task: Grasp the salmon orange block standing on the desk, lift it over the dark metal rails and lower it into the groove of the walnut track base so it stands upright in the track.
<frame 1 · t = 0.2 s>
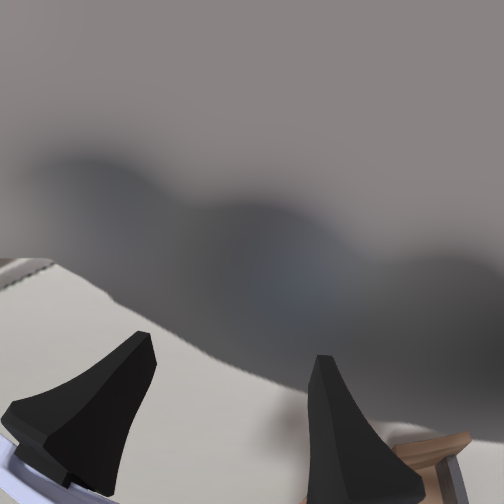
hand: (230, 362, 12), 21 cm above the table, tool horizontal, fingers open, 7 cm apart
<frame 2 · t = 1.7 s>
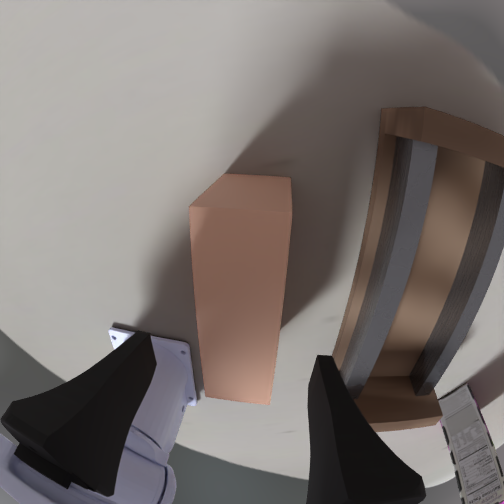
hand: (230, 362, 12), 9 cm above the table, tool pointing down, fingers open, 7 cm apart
track base: (417, 278, 19), on the table
salmon orange block: (253, 262, 20), on the table
candy bar box: (458, 405, 26), on the table
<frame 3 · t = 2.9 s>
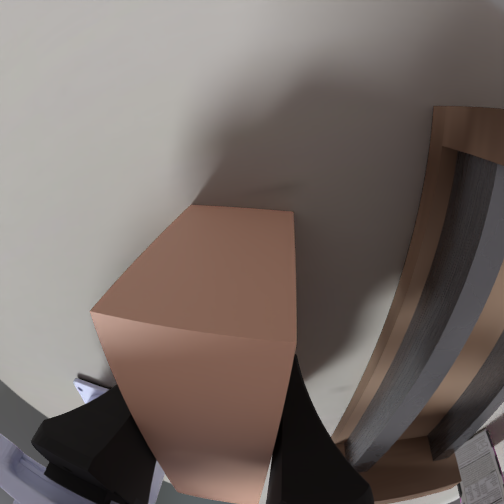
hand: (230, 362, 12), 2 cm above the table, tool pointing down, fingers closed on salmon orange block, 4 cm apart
track base: (454, 339, 13), on the table
salmon orange block: (238, 328, 14), on the table, touching gripper
candy bar box: (472, 446, 20), on the table
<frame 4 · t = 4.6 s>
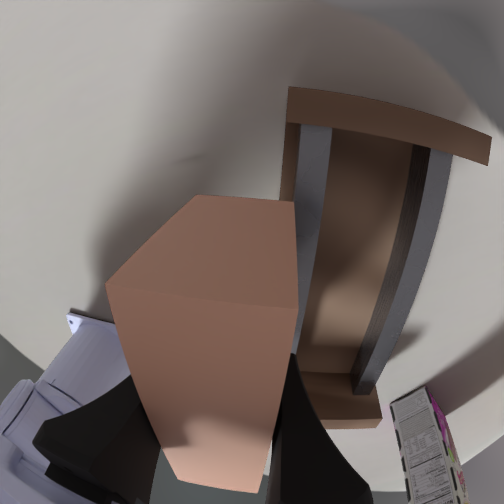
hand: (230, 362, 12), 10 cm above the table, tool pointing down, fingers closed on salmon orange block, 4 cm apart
track base: (343, 270, 20), on the table
salmon orange block: (239, 316, 14), point 7 cm above the table, touching gripper
candy bar box: (420, 409, 27), on the table
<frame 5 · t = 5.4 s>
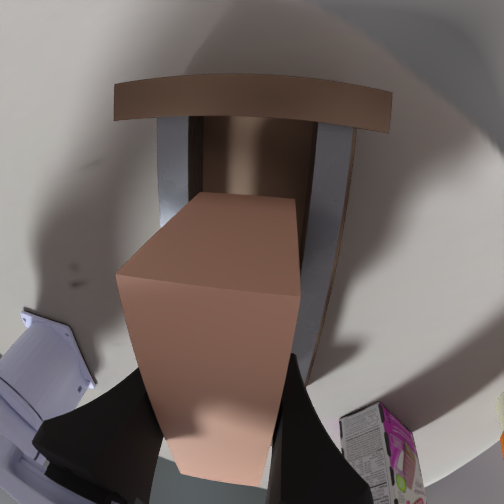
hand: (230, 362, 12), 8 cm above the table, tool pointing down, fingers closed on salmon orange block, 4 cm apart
track base: (250, 274, 19), on the table
salmon orange block: (241, 311, 15), point 4 cm above the table, touching gripper
candy bar box: (380, 424, 25), on the table
when the fingers open (5 cm above the table, at t = 6.2 s): salmon orange block stays where it is, resting on track base.
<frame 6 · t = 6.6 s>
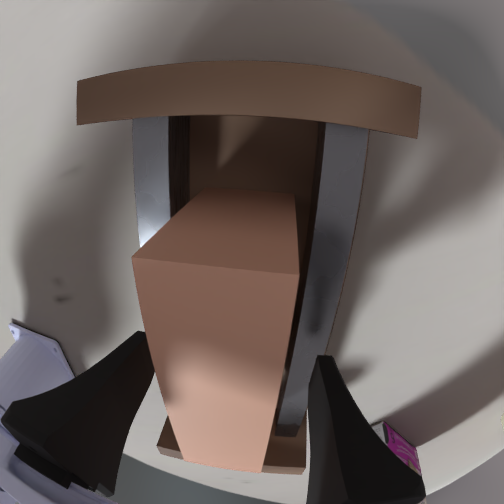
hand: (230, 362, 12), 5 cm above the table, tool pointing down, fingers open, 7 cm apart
track base: (246, 294, 16), on the table
salmon orange block: (243, 302, 15), point 1 cm above the table, touching track base
candy bar box: (383, 441, 23), on the table
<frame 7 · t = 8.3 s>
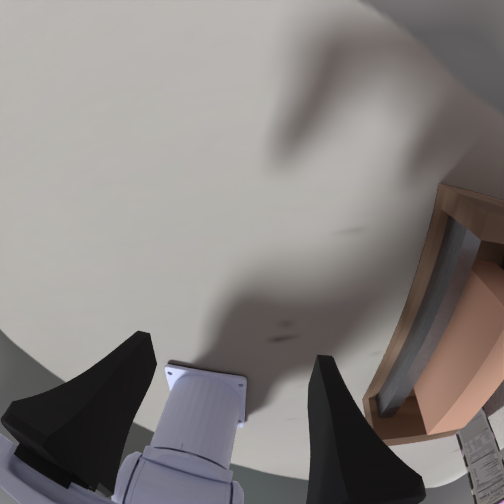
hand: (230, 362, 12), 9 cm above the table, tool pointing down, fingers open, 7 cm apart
track base: (447, 319, 21), on the table
salmon orange block: (452, 324, 20), point 1 cm above the table, touching track base
candy bar box: (468, 415, 27), on the table
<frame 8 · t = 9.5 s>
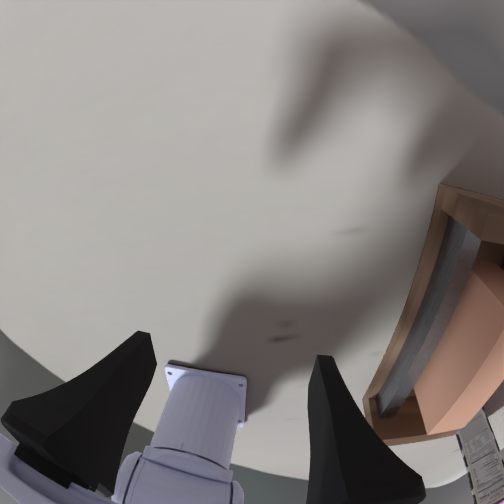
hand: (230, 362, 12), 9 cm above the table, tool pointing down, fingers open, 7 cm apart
track base: (447, 319, 21), on the table
salmon orange block: (452, 324, 20), point 1 cm above the table, touching track base
candy bar box: (468, 415, 27), on the table
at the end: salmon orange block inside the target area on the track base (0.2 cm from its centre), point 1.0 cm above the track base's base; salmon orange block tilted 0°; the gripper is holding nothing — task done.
